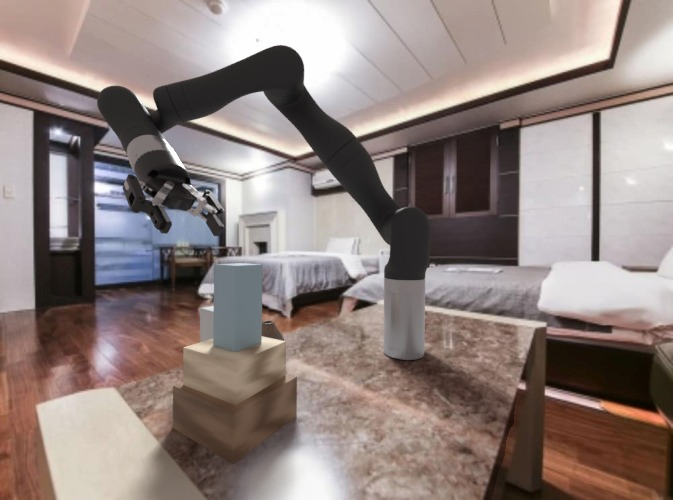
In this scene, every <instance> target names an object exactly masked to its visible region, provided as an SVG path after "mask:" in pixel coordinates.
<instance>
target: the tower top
mask: <svg viewBox="0 0 673 500" xmlns="http://www.w3.org/2000/svg"><path fill="white" fill-rule="evenodd" d="M182 348H183V350H182V352H183V356H182V357H183V358H182V359H183V361H182V362H183V363H182V364H183V368H182V369H183V370H182V375H183V377H182V379H183V381H182V382H183V385H185V386H187V387H190V388H193V389H195V390H198V391H200V392H203V393H205V394H208V395H211V396H213V397H216V398H218V399H221V400H223V401H226V402H228V403H231V404H234V405H237V404H239V403H241V402H242V401H244V400H246V399H248V398H249V397H251V396H253V395H254V394H256V393H258V392H260V391H261V390H263V389H265V388H266V387H268V386H270V385H272V384H273V383H275V382H277V381H278V380H280V379H282V378H283V377H285V376H286V374H287V372H286V371H287V370H286V368H287V367H286V365H287V363H286V362H287V341H285V340H284V341H282V340H277V339H273V338H268V337H263V336H262V340H261V343H260V344H257V345H254V346H251V347H248V348H245V349H242V350H239V351H237V352H232V351H229V350H226V349H223V348H220V347H217V346H214V345H213V338H212V339H209V340H206V341H203V342H200V341H199V342H196V343H193V344H190V345H188V346H184V347H182Z"/></svg>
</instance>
